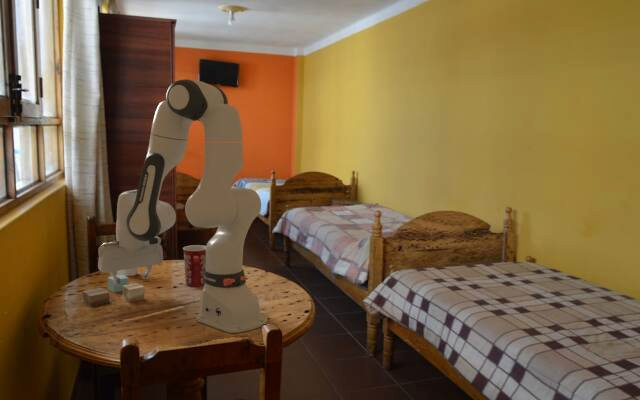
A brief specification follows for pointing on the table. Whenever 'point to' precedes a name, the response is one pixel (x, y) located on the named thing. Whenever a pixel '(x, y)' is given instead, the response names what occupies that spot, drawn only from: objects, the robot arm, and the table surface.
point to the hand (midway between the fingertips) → (131, 280)
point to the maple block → (133, 292)
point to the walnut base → (96, 296)
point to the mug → (195, 264)
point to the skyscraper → (126, 271)
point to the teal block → (119, 286)
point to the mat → (95, 304)
